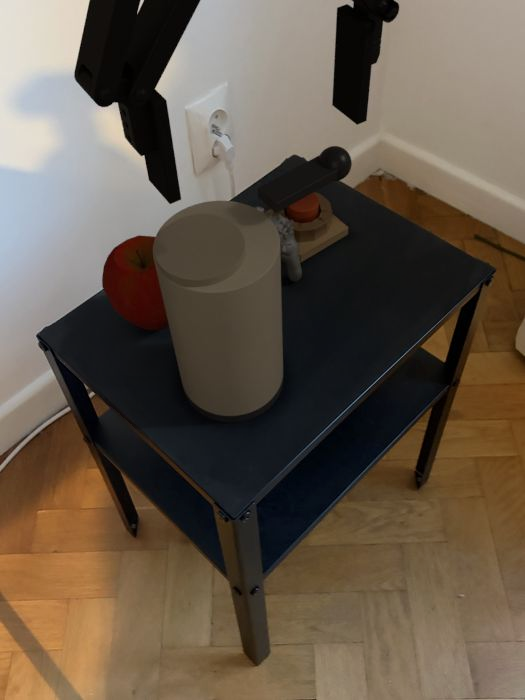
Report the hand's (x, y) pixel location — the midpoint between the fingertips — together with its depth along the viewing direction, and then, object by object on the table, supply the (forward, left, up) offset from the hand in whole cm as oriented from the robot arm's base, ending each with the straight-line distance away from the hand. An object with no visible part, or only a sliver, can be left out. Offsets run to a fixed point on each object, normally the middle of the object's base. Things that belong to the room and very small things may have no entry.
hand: (261, 150), depth 45 cm
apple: (+16, +3, -31) cm, 35 cm away
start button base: (+17, -17, -31) cm, 39 cm away
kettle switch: (+5, -8, -12) cm, 15 cm away
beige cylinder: (+5, +1, -31) cm, 31 cm away
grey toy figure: (+15, -8, -31) cm, 35 cm away
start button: (+17, -17, -28) cm, 37 cm away
